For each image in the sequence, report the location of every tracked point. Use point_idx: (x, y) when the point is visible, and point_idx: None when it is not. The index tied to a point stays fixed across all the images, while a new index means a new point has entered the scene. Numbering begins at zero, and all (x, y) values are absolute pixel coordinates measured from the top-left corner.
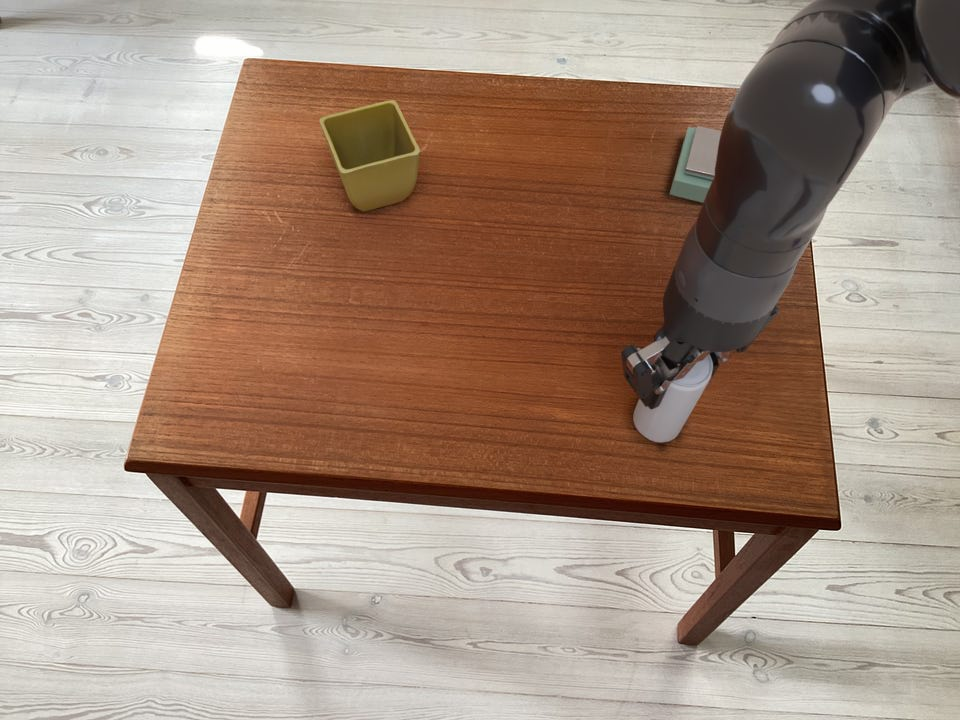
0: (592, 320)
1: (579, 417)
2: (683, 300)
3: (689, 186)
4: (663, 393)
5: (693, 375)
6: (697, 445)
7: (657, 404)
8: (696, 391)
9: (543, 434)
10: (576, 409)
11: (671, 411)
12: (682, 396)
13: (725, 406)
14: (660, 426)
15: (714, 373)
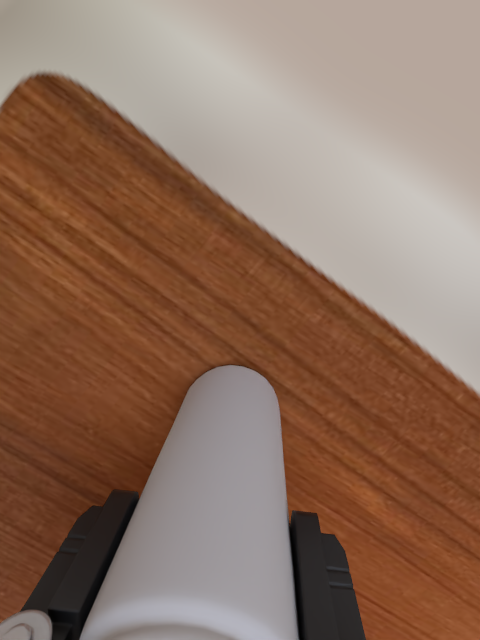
0: None
1: (348, 480)
2: None
3: None
4: (313, 611)
5: None
6: (193, 328)
7: (308, 534)
8: (209, 583)
9: (425, 488)
10: (342, 493)
11: (265, 477)
12: (256, 567)
13: (94, 360)
14: (270, 421)
15: (86, 539)
